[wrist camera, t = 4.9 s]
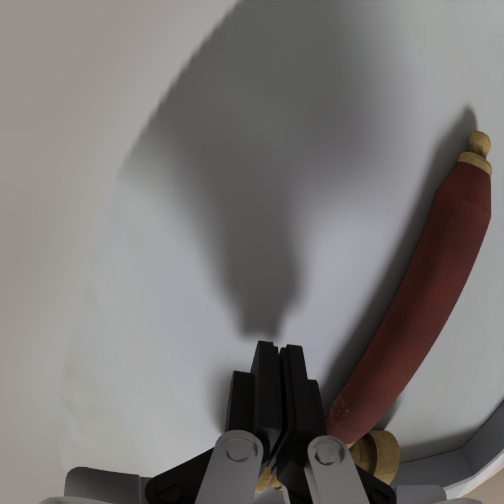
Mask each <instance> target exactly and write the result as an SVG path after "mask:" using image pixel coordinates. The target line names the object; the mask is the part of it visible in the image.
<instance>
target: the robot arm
mask: <svg viewBox="0 0 504 504" xmlns="http://www.w3.org/2000/svg"><path fill="white" fill-rule="evenodd" d="M265 467H266V468H271V475H276V476H277V480H278V481H279V482H280V483H281V484H282V492H283V497H284V501H285V504H484V503H483V502H482V501H480V500H476V499H470V498H456V499H450V500H447V497H446V493H445V490H444V489H443V488H442V487H440V486H439V485H397V486H395V487H390V486H389V485H388V484H386V483H385V482H383V481H381V480H380V479H378V478H376V477H375V476H373V475H372V474H370V473H368V472H367V471H365V470H364V469H362V468H361V467H359V466H358V465H356V464H355V463H354V462H353V459H352V457H351V454H350V451H349V449H348V447H347V446H346V444H345V443H344V442H343V441H342V440H340V439H338V438H336V437H333V436H328V435H327V430H326V424H325V418H324V413H323V408H322V402H321V397H320V392H319V387H318V383H317V381H316V380H310V379H308V378H307V372H306V366H305V360H304V354H303V348H302V346H298V345H289V344H287V346H286V348H284V347H281V349H280V353H278V347H276V346H273V342H267V341H260V340H259V341H258V344H257V347H256V351H255V355H254V359H253V363H252V367H251V371H250V373H247V372H240V371H234V372H233V377H232V382H231V387H230V393H229V400H228V408H227V417H226V425H225V433H223V434H222V435H221V436H220V437H219V438H218V440H217V442H216V444H215V447H213V448H211V449H210V450H208V451H206V452H204V453H202V454H200V455H198V456H196V457H194V458H193V459H191V460H189V461H187V462H185V463H183V464H181V465H179V466H176V467H174V468H172V469H170V470H168V471H166V472H164V473H161V474H159V475H157V476H155V477H153V478H150V477H140V476H139V475H136V474H126V473H118V472H111V471H105V470H99V469H93V468H88V467H76V468H73V469H71V470H70V471H69V472H68V474H67V477H66V480H65V490H64V496H62V497H50V498H47V499H44V500H43V501H41V502H40V503H39V504H252V503H253V499H254V494H255V490H256V485H257V481H258V479H259V477H260V476H261V474H262V472H263V471H264V469H265Z"/></svg>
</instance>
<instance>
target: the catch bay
mask: <svg viewBox="0 0 504 504" xmlns="http://www.w3.org/2000/svg"><path fill="white" fill-rule="evenodd" d="M503 453H504V402H503V403H502V404H501V405H500V407H499V408H498V409H497V410H496V412H495V413H494V414H493V415H492V416H491V417H490V419H489V420H488V421H487V422H486V423H485V424H484V425H483V426H482V428H481V429H480V430H479V431H478V432H477V433H476V434H475V435H474V436H473V437H472V438H471V439H470V440H469V441H468V442H467V443H466V444H465V445H464V446H463V447H462V448H460V449H457V450H454V451H450V452H447V453H443V454H440V455H436V456H432V457H428V458H424V459H420V460H415V461H410V462H405V463H400V464H399V467H398V470H397V473H396V475H395V477H394V479H393V480H392V481H391V483H390V484H389V486H390V487H395V486H397V485H439V486H440V487H442V488H443V489H444V490H448V489H450V488H453V487H456V486H458V485H460V484H463V483H465V482H468V481H470V480H472V479H474V478H475V477H476V476H477V475H479V474H480V473H481V472H482V471H483V470H485V469H486V468H487V467H488V466H489V465H490V464H492V463H493V462H494V461H495V460H496V459H497V458H498V457H499V456H500V455H501V454H503Z"/></svg>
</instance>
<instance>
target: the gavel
mask: <svg viewBox="0 0 504 504" xmlns="http://www.w3.org/2000/svg"><path fill="white" fill-rule="evenodd" d="M469 147H470V149H469V152H462V153H461V154H460V155H459V156H458V160H457V163H456V164H455V166H454V167H453V169H452V170H451V172H450V173H449V175H448V176H447V178H446V179H445V180H444V182H443V183H442V185H441V186H440V187H439V189H438V190H437V192H436V195H435V198H434V201H433V204H432V207H431V210H430V213H429V216H428V218H427V221H426V224H425V227H424V229H423V232H422V235H421V237H420V240H419V242H418V245H417V248H416V250H415V252H414V255H413V257H412V260H411V262H410V264H409V267H408V269H407V271H406V273H405V276H404V278H403V280H402V282H401V285H400V287H399V289H398V291H397V293H396V295H395V297H394V299H393V301H392V303H391V305H390V307H389V309H388V311H387V313H386V315H385V317H384V319H383V321H382V323H381V325H380V327H379V328H378V330H377V332H376V334H375V336H374V338H373V339H372V341H371V343H370V345H369V346H368V348H367V350H366V352H365V353H364V355H363V357H362V358H361V360H360V362H359V363H358V365H357V367H356V368H355V370H354V372H353V373H352V375H351V376H350V378H349V379H348V381H347V383H346V384H345V386H344V387H343V389H342V390H341V392H340V393H339V395H338V396H337V398H336V399H335V401H334V402H333V404H332V406H331V408H330V411H329V413H328V415H327V418H326V420H325V424H326V430H327V435H328V436H333V437H336V438H338V439H340V440H342V441H343V442H344V443H345V444H346V446H347V447H348V449H349V451H350V454H351V457H352V459H353V462H354V463H355V464H356V465H358V466H359V467H361V468H362V469H364V470H365V471H367V472H368V473H370V474H372V475H373V476H375V477H376V478H378V479H380V480H381V481H383V482H385V483H386V484H388V485H389V484H390V483H391V481H392V480H393V479H394V477H395V475H396V473H397V470H398V467H399V461H400V450H399V445H398V442H397V440H396V438H395V437H394V435H393V434H392V433H390V432H389V431H386V430H371V429H372V428H373V427H374V426H375V425H376V424H377V422H378V421H379V420H380V419H381V418H382V416H383V415H384V414H385V413H386V411H387V410H388V409H389V408H390V406H391V405H392V404H393V403H394V401H395V400H396V399H397V397H398V396H399V395H400V393H401V392H402V391H403V389H404V388H405V387H406V385H407V384H408V382H409V381H410V379H411V378H412V377H413V375H414V374H415V372H416V371H417V369H418V368H419V366H420V365H421V363H422V362H423V360H424V359H425V357H426V355H427V354H428V352H429V351H430V349H431V347H432V346H433V344H434V342H435V341H436V339H437V337H438V336H439V334H440V332H441V330H442V329H443V327H444V325H445V323H446V321H447V320H448V318H449V316H450V314H451V312H452V310H453V308H454V306H455V304H456V302H457V300H458V298H459V296H460V294H461V292H462V290H463V288H464V286H465V283H466V281H467V279H468V277H469V274H470V272H471V270H472V267H473V265H474V263H475V260H476V258H477V255H478V253H479V250H480V247H481V245H482V242H483V239H484V236H485V234H486V231H487V228H488V225H489V222H490V219H491V180H490V177H491V173H492V168H491V165H490V163H489V162H488V161H487V160H486V155H487V154H488V153H489V151H490V147H491V143H490V139H489V137H488V135H486V134H485V133H483V132H480V131H474V132H472V133H471V135H470V137H469ZM267 487H274V488H275V489H276V490H282V484H281V483H280V482H279V481H278V480H277V476H276V475H271V468H266V467H265V469H264V471H263V472H262V474H261V476H260V477H259V479H258V481H257V485H256V490H255V493H262V492H263V491H264V490H265V489H266V488H267Z"/></svg>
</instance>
